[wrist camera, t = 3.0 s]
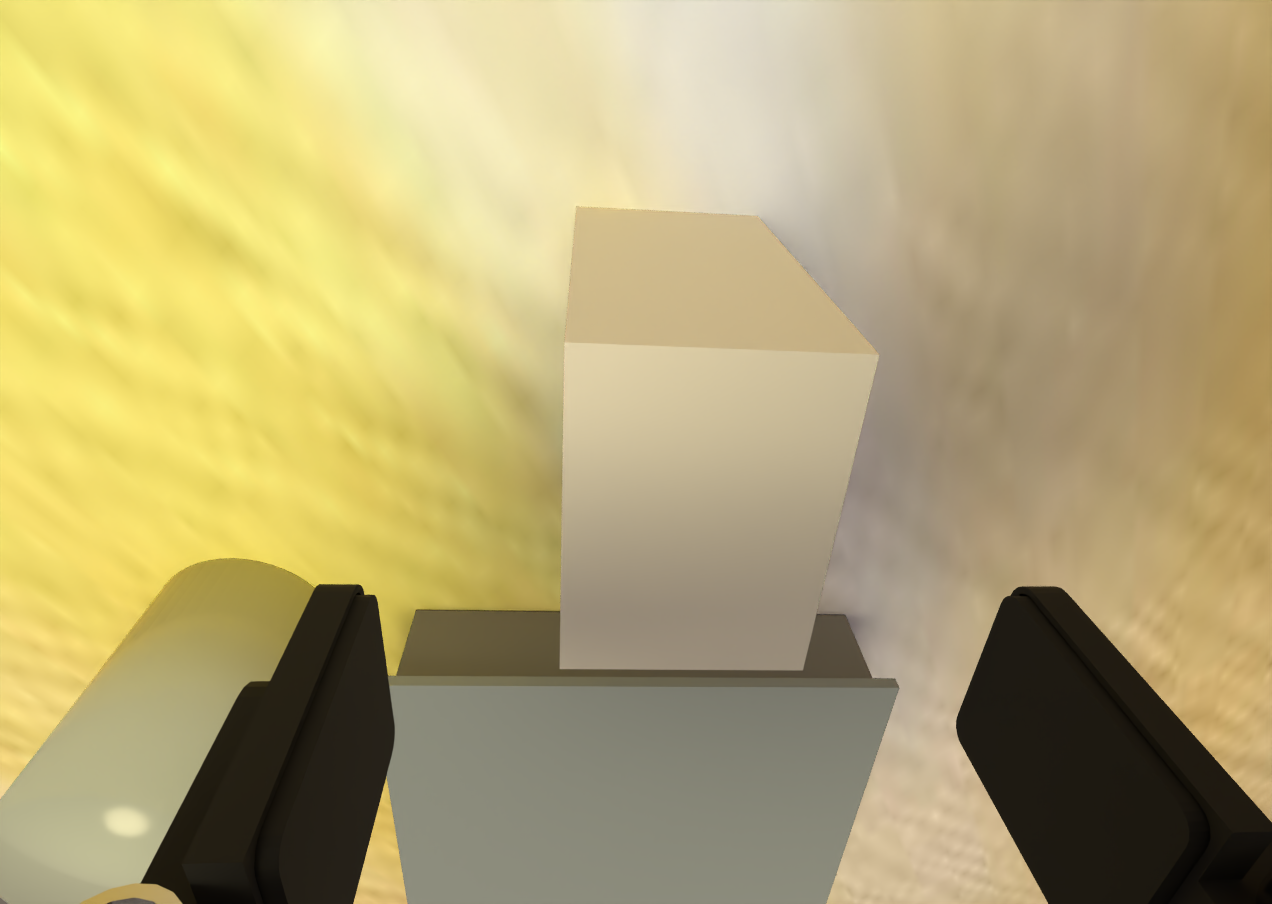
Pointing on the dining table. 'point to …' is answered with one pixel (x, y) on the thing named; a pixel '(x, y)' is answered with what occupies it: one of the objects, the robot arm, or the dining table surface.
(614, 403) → the carton
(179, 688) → the grey cylinder
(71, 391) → the dining table surface
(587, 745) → the podium
